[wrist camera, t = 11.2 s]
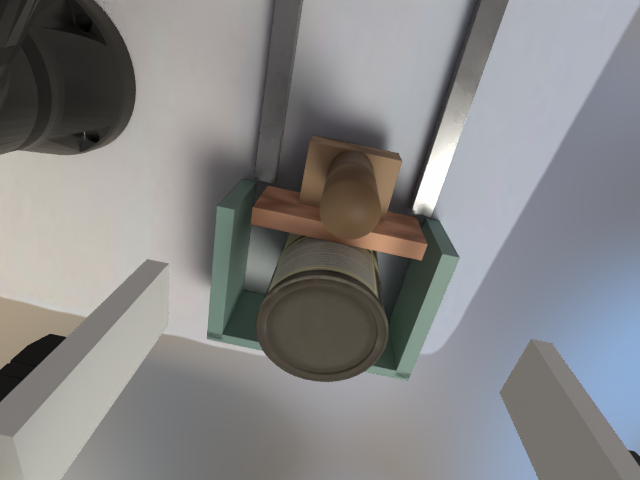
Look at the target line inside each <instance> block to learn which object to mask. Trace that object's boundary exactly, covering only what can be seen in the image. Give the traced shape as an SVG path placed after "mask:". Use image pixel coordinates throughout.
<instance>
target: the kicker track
mask: <svg viewBox="0 0 640 480" xmlns="http://www.w3.org/2000/svg"><path fill="white" fill-rule="evenodd" d="M508 1H509V0H477V2H476V5H475V8H474V11H473V14H472V17H471V20H470V23H469V26H468V29H467V32H466V35H465V38H464V41H463V44H462V47H461V51H460V54H459V57H458V60H457V63H456V66H455V69H454V72H453V75H452V78H451V81H450V84H449V87H448V90H447V93H446V96H445V99H444V103H443V106H442V109H441V112H440V115H439V118H438V121H437V124H436V127H435V130H434V133H433V136H432V139H431V142H430V145H429V148H428V152H427V155H426V158H425V161H424V164H423V167H422V170H421V173H420V176H419V179H418V182H417V185H416V188H415V191H414V194H413V197H412V200H411V204H410V207H409V209H410V211H411V213H414V214H418V215H423V216H428V217H431V215H432V212H433V210H434V207H435V204H436V201H437V198H438V196H439V193H440V190H441V187H442V184H443V182H444V179H445V176H446V173H447V171H448V168H449V165H450V162H451V159H452V157H453V154H454V151H455V148H456V146H457V143H458V140H459V137H460V134H461V132H462V129H463V126H464V123H465V120H466V118H467V115H468V112H469V109H470V107H471V104H472V101H473V98H474V95H475V93H476V90H477V87H478V84H479V82H480V79H481V76H482V73H483V70H484V68H485V65H486V62H487V59H488V56H489V54H490V51H491V48H492V45H493V43H494V40H495V37H496V34H497V31H498V29H499V26H500V23H501V20H502V18H503V15H504V12H505V9H506V6H507V4H508ZM302 4H303V0H275V8H274V17H273V25H272V33H271V42H270V50H269V58H268V67H267V75H266V83H265V92H264V100H263V109H262V117H261V125H260V134H259V142H258V150H257V159H256V167H255V175H254V179H255V180H260V181H264V182H269V183H274V182H275V181H276V179H277V173H278V166H279V159H280V153H281V146H282V139H283V132H284V126H285V119H286V112H287V105H288V99H289V92H290V85H291V79H292V72H293V65H294V58H295V52H296V45H297V38H298V31H299V25H300V18H301V11H302Z"/></svg>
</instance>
